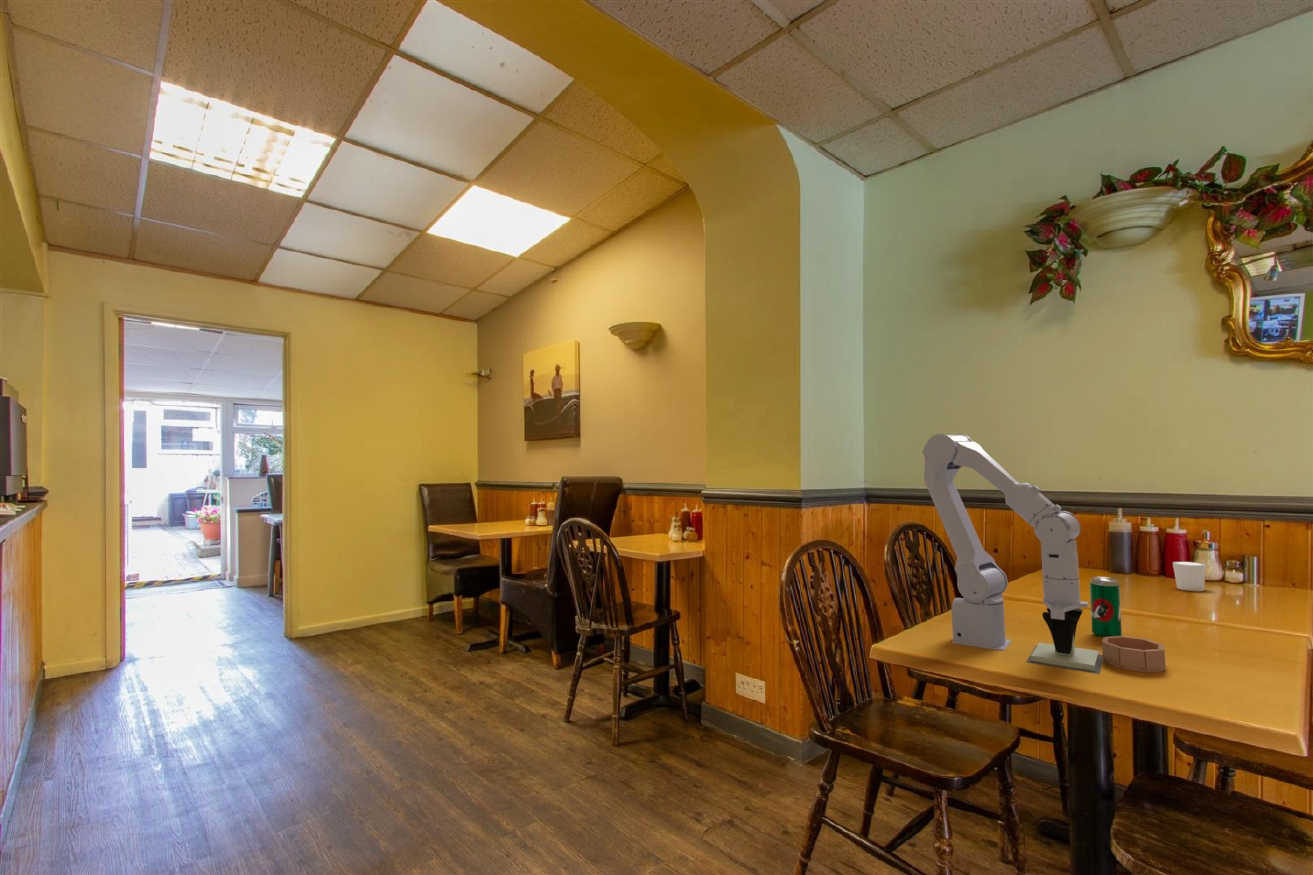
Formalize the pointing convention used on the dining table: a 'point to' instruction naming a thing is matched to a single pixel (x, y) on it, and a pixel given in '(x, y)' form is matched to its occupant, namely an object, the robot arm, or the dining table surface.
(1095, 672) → the mat
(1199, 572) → the white cup
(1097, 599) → the soda can
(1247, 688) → the dining table surface
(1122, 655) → the bowl
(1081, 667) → the cover
